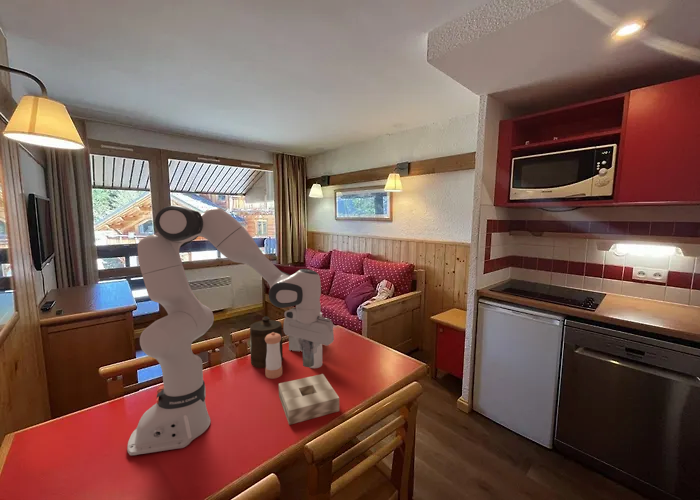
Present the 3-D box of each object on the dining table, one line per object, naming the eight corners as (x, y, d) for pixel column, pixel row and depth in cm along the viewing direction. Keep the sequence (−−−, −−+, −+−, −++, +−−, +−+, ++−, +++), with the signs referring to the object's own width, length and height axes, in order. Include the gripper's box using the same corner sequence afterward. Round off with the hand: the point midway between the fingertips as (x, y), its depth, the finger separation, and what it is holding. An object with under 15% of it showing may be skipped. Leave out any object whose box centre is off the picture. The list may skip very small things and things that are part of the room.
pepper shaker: (285, 374, 131) (284, 332, 129) (271, 380, 125) (270, 337, 123) (275, 368, 136) (274, 328, 134) (262, 375, 130) (260, 332, 128)
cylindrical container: (325, 364, 140) (325, 312, 138) (315, 370, 134) (315, 316, 132) (313, 360, 144) (313, 310, 142) (303, 366, 138) (303, 314, 136)
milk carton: (288, 351, 154) (288, 315, 152) (294, 345, 161) (293, 311, 159) (301, 352, 152) (301, 316, 150) (306, 347, 159) (306, 312, 157)
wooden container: (264, 352, 153) (263, 310, 151) (288, 357, 147) (287, 314, 145) (243, 365, 139) (242, 319, 137) (269, 371, 133) (268, 324, 131)
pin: (302, 367, 106) (302, 340, 105) (303, 362, 110) (302, 336, 109) (314, 366, 107) (313, 339, 106) (313, 361, 111) (313, 335, 110)
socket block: (289, 424, 98) (288, 410, 98) (278, 395, 115) (278, 383, 114) (339, 410, 105) (339, 397, 105) (323, 385, 122) (322, 373, 121)
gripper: (337, 316, 104) (336, 354, 106) (291, 307, 114) (291, 342, 115) (327, 321, 99) (327, 361, 100) (280, 311, 108) (280, 347, 110)
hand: (307, 350), depth 108 cm, fingers closed on pin, 4 cm apart
